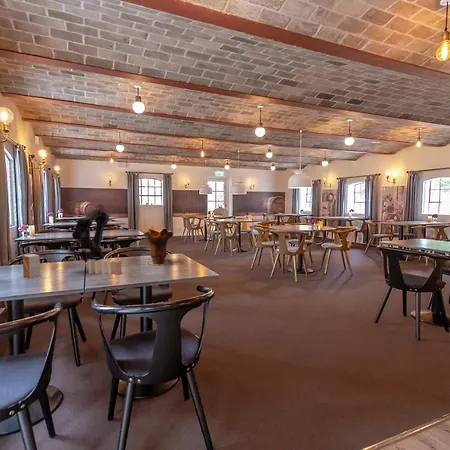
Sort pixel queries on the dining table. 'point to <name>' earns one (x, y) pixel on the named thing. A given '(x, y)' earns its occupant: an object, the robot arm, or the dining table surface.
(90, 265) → the domino
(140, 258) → the dining table surface
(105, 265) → the domino
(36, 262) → the small box
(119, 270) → the domino
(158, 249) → the decorative vase
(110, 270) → the domino
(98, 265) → the domino
